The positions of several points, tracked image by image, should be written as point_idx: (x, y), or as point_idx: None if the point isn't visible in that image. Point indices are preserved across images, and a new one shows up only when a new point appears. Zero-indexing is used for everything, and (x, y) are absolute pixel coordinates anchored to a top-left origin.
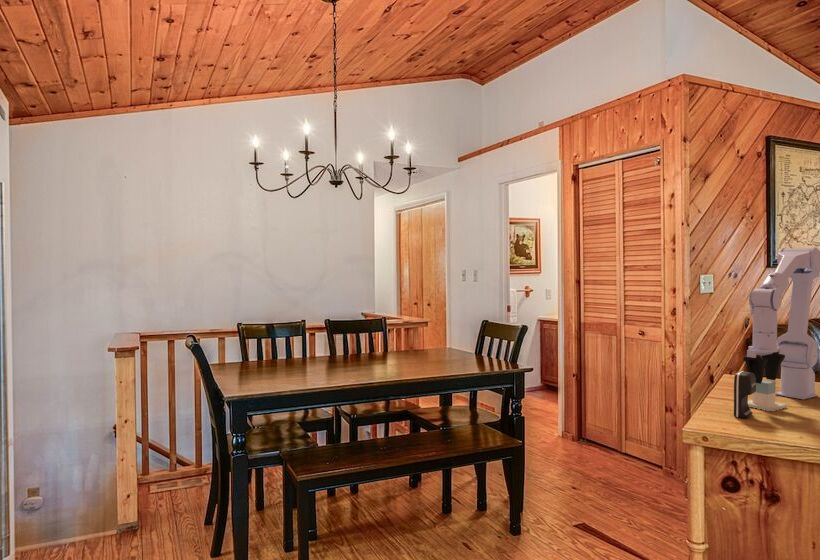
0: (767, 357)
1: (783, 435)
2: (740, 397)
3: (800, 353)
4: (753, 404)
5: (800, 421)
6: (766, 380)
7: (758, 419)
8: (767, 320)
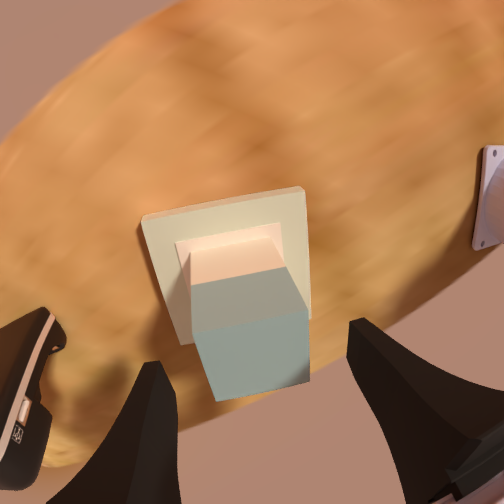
0: (433, 456)
1: None
2: None
3: None
4: (165, 275)
5: None
6: (308, 344)
7: (54, 371)
8: None
